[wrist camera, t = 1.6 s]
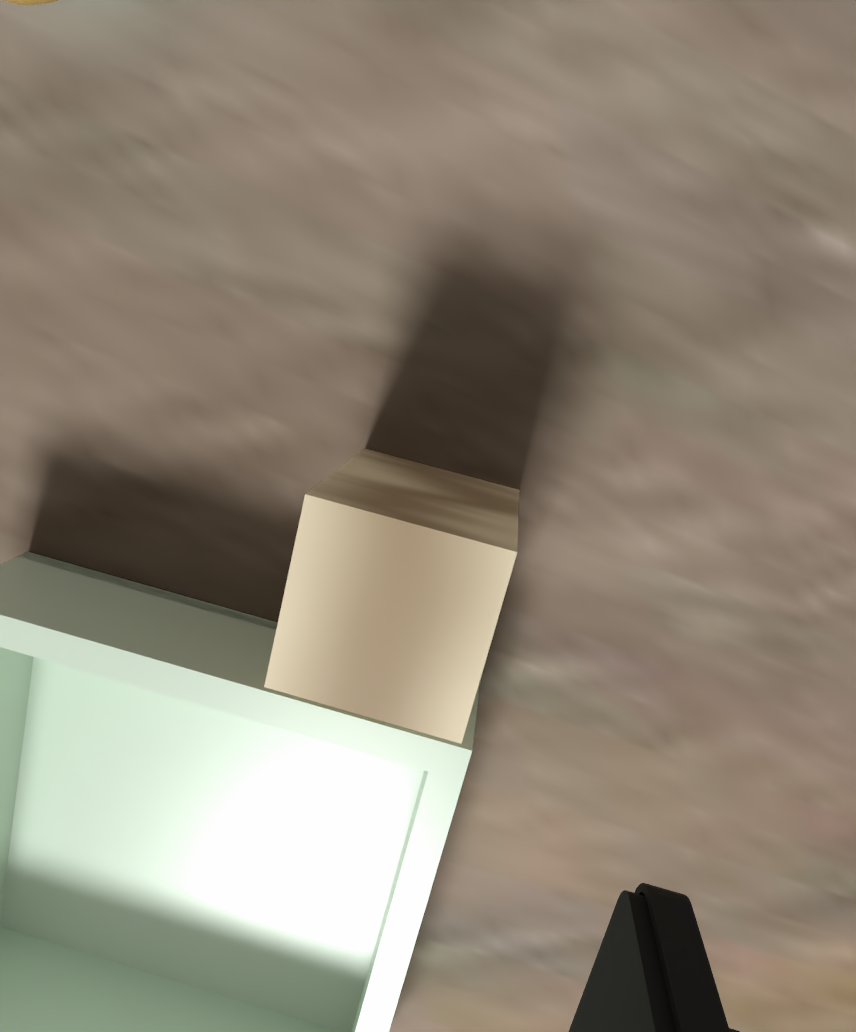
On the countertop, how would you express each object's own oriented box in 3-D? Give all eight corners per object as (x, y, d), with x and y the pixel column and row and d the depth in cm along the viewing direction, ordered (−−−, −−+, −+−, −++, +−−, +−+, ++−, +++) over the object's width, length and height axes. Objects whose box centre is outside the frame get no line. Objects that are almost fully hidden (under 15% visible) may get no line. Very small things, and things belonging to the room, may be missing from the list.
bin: (480, 679, 26) (472, 750, 22) (373, 1049, 30) (347, 1171, 26) (27, 551, 27) (-68, 595, 23) (-18, 927, 31) (-106, 1025, 27)
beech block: (519, 489, 24) (517, 551, 18) (478, 634, 26) (461, 743, 19) (365, 448, 25) (305, 494, 18) (331, 593, 26) (264, 687, 19)
